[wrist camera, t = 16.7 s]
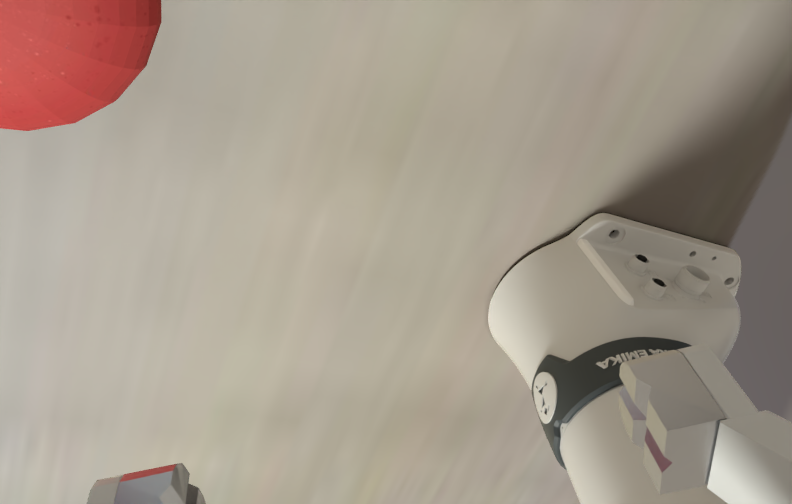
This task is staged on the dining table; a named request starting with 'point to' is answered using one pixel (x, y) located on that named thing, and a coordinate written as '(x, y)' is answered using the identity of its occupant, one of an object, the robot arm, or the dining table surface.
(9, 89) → the mushroom
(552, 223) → the dining table surface
